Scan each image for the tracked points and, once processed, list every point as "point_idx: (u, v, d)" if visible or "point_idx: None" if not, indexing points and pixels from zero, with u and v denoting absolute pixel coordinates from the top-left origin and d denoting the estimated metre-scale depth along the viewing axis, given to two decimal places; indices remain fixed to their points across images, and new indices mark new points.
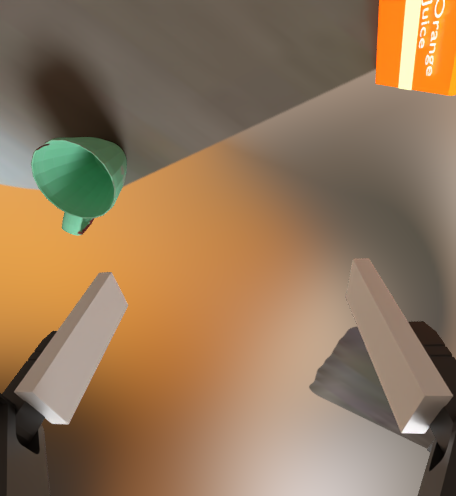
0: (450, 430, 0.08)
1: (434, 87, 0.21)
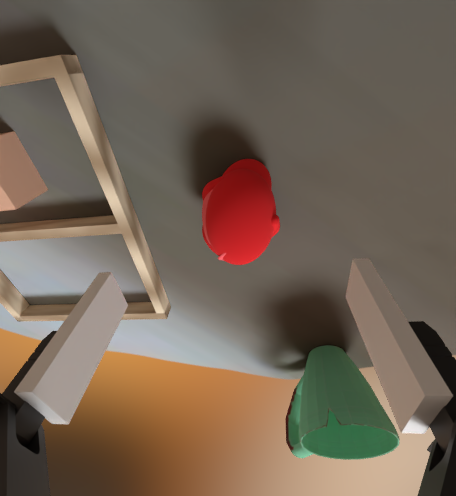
0: (450, 430, 0.08)
1: None
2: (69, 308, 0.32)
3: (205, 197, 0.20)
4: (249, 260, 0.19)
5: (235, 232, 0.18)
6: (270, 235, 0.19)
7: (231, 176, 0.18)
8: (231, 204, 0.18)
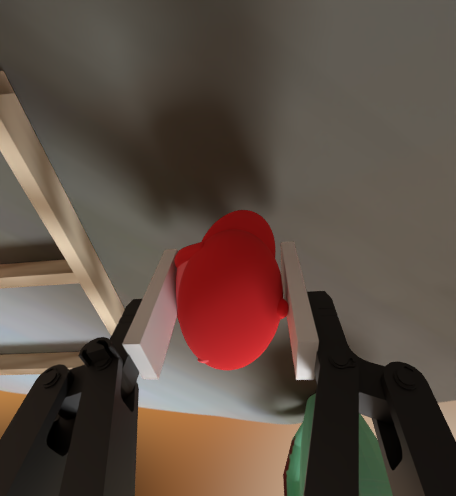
0: None
1: None
2: (28, 359, 0.28)
3: (178, 267, 0.14)
4: (244, 365, 0.13)
5: (221, 336, 0.11)
6: (275, 329, 0.13)
7: (215, 245, 0.12)
8: (215, 293, 0.11)
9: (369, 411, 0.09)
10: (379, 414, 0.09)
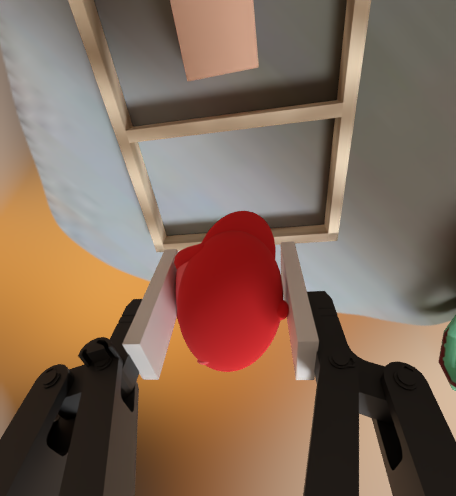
0: None
1: None
2: None
3: (178, 269, 0.14)
4: (244, 367, 0.13)
5: (221, 337, 0.11)
6: (275, 330, 0.13)
7: (215, 246, 0.12)
8: (215, 294, 0.11)
9: (369, 411, 0.09)
10: (379, 414, 0.09)
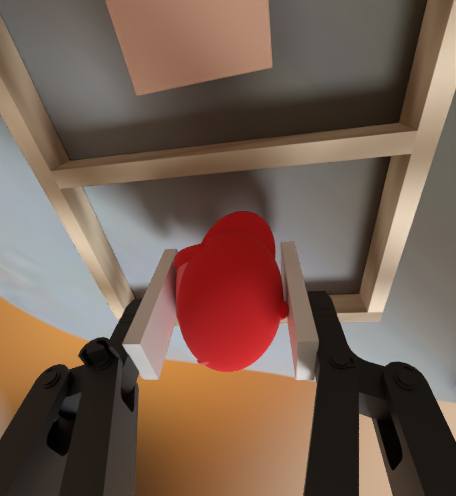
0: None
1: None
2: None
3: (178, 269, 0.14)
4: (244, 367, 0.13)
5: (221, 338, 0.11)
6: (275, 330, 0.13)
7: (215, 246, 0.12)
8: (215, 295, 0.11)
9: (368, 411, 0.09)
10: (379, 414, 0.09)
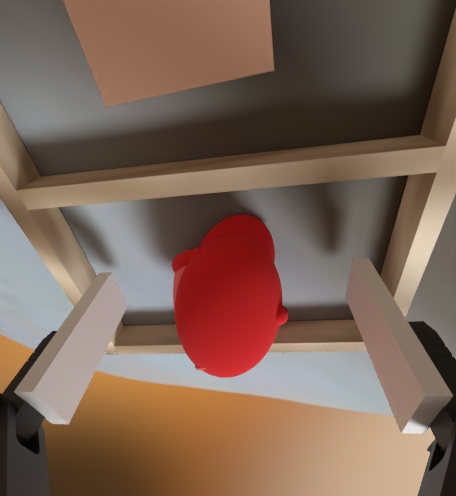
0: (450, 430, 0.08)
1: None
2: None
3: (176, 273, 0.13)
4: (242, 373, 0.13)
5: (219, 344, 0.11)
6: (274, 336, 0.12)
7: (213, 251, 0.12)
8: (212, 300, 0.11)
9: None
10: None
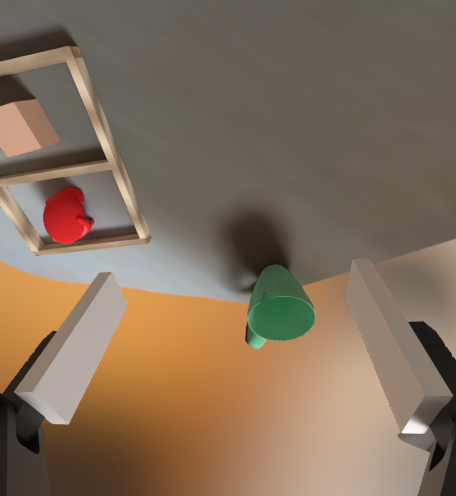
0: (450, 430, 0.08)
1: None
2: (75, 243, 0.43)
3: None
4: (68, 241, 0.37)
5: (53, 226, 0.35)
6: (78, 227, 0.37)
7: (53, 197, 0.36)
8: (50, 212, 0.35)
9: None
10: None
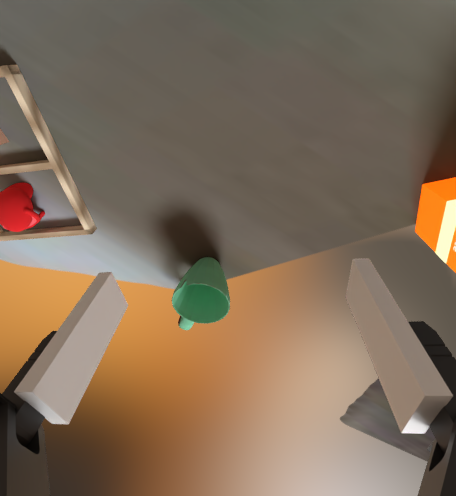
0: (450, 430, 0.08)
1: None
2: (29, 231, 0.48)
3: None
4: (17, 229, 0.42)
5: (2, 216, 0.41)
6: (25, 217, 0.42)
7: (3, 191, 0.41)
8: None
9: None
10: None
